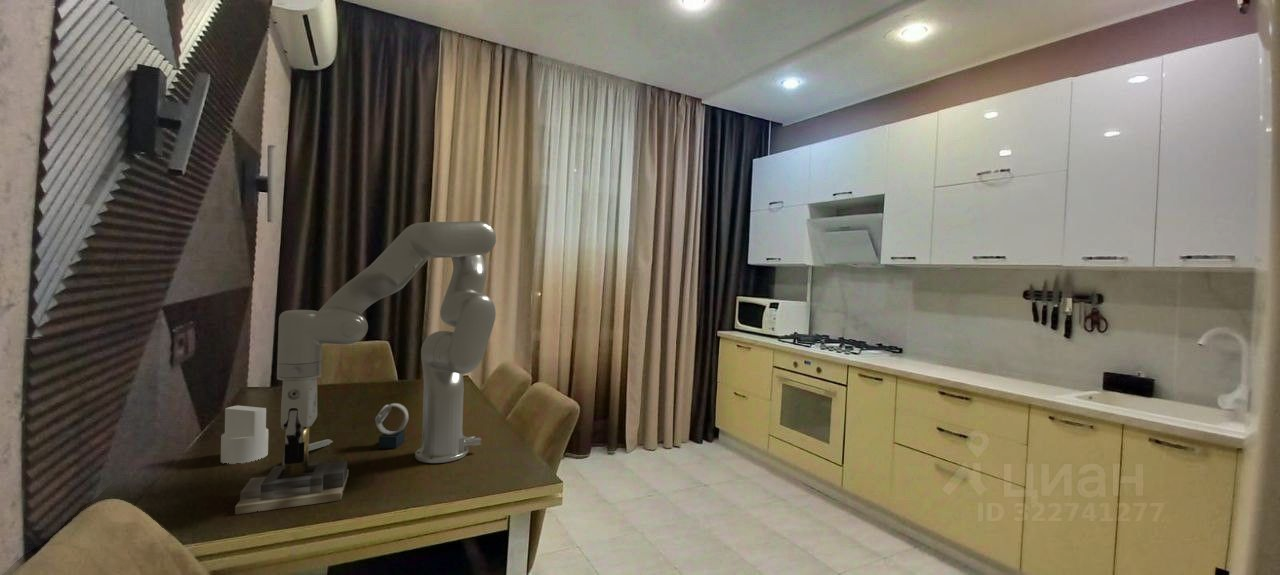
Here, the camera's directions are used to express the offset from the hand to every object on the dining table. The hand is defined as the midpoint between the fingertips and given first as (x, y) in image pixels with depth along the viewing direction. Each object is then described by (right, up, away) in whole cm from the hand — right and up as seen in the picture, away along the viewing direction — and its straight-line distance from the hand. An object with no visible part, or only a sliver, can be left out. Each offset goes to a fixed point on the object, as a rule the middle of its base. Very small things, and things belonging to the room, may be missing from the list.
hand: (296, 457), depth 101 cm
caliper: (-12, -7, +21) cm, 25 cm away
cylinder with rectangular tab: (-26, -6, +19) cm, 32 cm away
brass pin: (0, -3, 0) cm, 3 cm away
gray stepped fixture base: (0, -7, 0) cm, 7 cm away
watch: (+4, -7, +30) cm, 31 cm away
